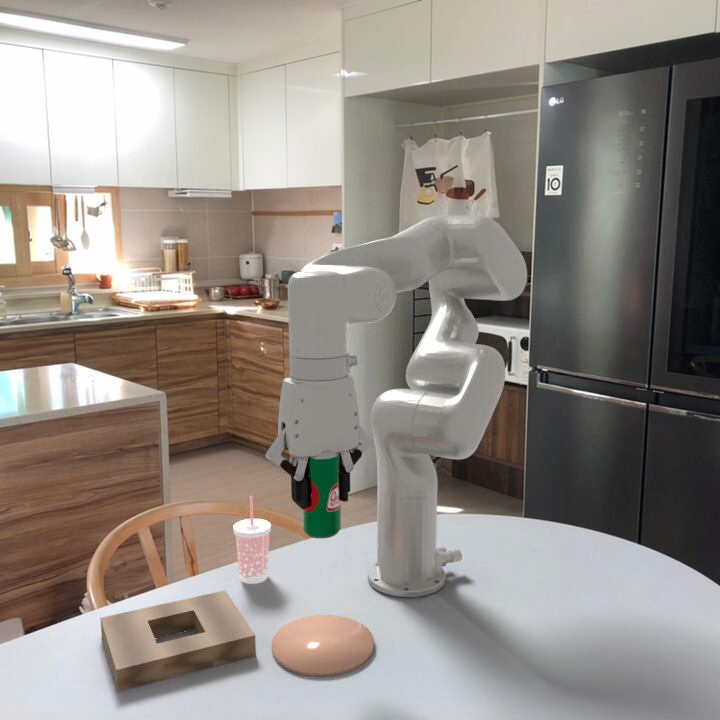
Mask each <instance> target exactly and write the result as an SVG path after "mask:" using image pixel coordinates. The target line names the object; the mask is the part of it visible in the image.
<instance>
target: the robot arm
mask: <svg viewBox="0 0 720 720" xmlns="http://www.w3.org/2000/svg"><path fill="white" fill-rule="evenodd" d="M526 264H527V263H526V261H525V258H524V256H523V254H522V253H521V250H520V249H519V248H518V247H517V245H516V244H515V242H513V240H512V238H511V237H510V236H509V234H508V233H507V232H506V231H505V229H504V228H503V227H502V226H501V225H500V224H499V223H498V222H496V221H495V220H494V219H492V218H491V217H489V216H486V215H473V214H472V215H470V214H469V215H465V214H464V215H450V214H449V215H447V214H446V215H435V216H431V217H428V218H425V219H423V220H421V221H419V222H417V223H416V224H414V225H412V226H410V227H408V228H407V229H404V230H403V231H400V232H398V233H397V234H394V235H392V236H389V237H386V238H382V239H381V238H380V239H376V240H373V241H369V242H367V243H362V244H359V245H353V246H349V247H346V248H342V249H339V250H336V251H332V252H329V253H326V254H325V255H323V256H321V257H319V258H317V259H315V260H312V261H311V262H308V264H306V265H305V266H303V268H301V270H300V271H298V272H294V273H293V274H291V276H290V277H289V279H288V284H287V305H288V306H287V311H288V312H287V313H288V316H287V317H288V340H289V341H288V343H289V344H288V345H289V347H288V348H289V352H288V353H289V377H286V378H284V379H283V381H282V386H281V393H280V400H279V409H278V410H279V411H278V420H277V421H278V424H277V425H278V426H277V437H276V438H275V439H274V441H273V443H271V446H269V448H268V450H267V451H266V452H265V457H266V459H267V460H269V461H270V462H271V463H273V464H275V465H276V466H277V467H279V468H281V469H282V470H283V471H285V473H287V474H288V475H289V476H290V485H291V487H290V493H291V494H290V495H291V499H292V501H293V502H294V503H295V504H296V505H297V506H298V507H299V508H300V509H301V510H303V509H307V508H308V482H307V480H306V479H305V478H304V473H305V469H306V465H307V461H308V458H309V457H314V456H317V455H321V454H322V453H321V452H322V451H327V450H333V451H332V452H333V453H340V497H341V502H343V503H345V502H349V493H350V492H351V472H353V471H354V470H355V467H354V466H355V465H356V464H357V463H358V461H359V460H360V459H361V458H362V457H363V454H365V452H366V451H367V450H368V449H369V448H370V447H372V444H373V441H374V447H375V455H376V465H377V468H376V469H377V473H376V475H377V492H376V493H377V494H376V495H377V497H376V498H377V505H376V507H377V514H376V515H377V516H376V517H377V518H376V519H377V521H376V522H377V525H376V526H377V527H376V528H377V530H376V531H377V532H376V533H377V534H376V535H377V537H376V538H377V540H376V541H377V542H376V544H377V545H376V547H377V548H376V549H377V552H376V554H377V555H376V556H377V557H376V558H377V559H376V560H377V561H376V562H375V563H373V564H372V565H371V566H370V567H369V569H368V570H367V581H368V583H369V585H370V586H371V587H372V588H373V589H375V590H376V591H379V592H380V593H383V594H386V595H388V596H393V597H401V598H417V597H419V598H420V597H424V596H428V595H431V594H434V593H436V592H438V591H439V590H440V589H442V588H443V587H444V585H445V583H446V571H445V570H444V567H446V566H447V564H453V563H457V562H460V561H462V560H463V556H462V555H463V554H462V552H461V550H460V549H459V548H458V549H452V550H447V548H446V547H445V546H440V547H437V527H438V526H437V525H438V524H437V522H438V521H437V520H438V519H437V518H438V515H437V514H438V474H437V470H436V467H435V464H434V462H433V460H432V459H431V456H434V457H437V458H438V457H440V458H443V459H444V458H445V459H450V460H465V459H467V458H470V457H471V456H472V455H473V454H474V453H475V451H476V450H477V449H478V447H479V444H481V443H480V442H481V441H482V439H483V436H484V434H485V432H486V429H487V428H488V426H489V423H490V421H491V418H492V417H493V414H494V412H495V409H496V407H497V404H498V403H499V401H500V398H501V395H502V393H503V390H504V385H505V380H506V364H505V361H504V358H503V356H502V354H501V353H500V352H499V351H498V350H497V349H496V348H494V347H492V346H489V345H486V344H479V343H478V344H477V341H478V338H479V333H480V332H479V331H480V329H479V326H478V323H477V321H476V318H475V317H474V315H473V313H472V312H471V310H470V309H469V308H468V306H467V304H466V302H465V299H467V300H468V299H470V300H487V301H502V302H503V301H512V300H515V299H517V298H518V297H519V296H520V295H521V294H523V292H524V290H525V288H526V285H527V280H528V269H527V265H526ZM426 283H428V285H429V286H428V290H429V296H430V298H429V299H430V305H431V319H430V321H429V323H428V325H427V328H426V330H425V331H424V333H423V335H422V337H421V339H420V341H419V343H418V345H417V346H416V348H415V349H414V352H413V354H412V355H411V357H410V359H409V362H408V364H407V366H406V371H405V380H406V384H407V385H408V387H409V388H393V389H389V390H387V391H384V392H383V393H381V394H380V395H379V396H377V398H376V400H375V401H374V403H373V405H372V407H371V413H370V425H371V426H370V427H371V431H372V435H373V437H372V438H373V440H372V439H371V437H370V436H369V435H368V434H367V433H366V432H365V430H364V429H363V428H362V426H360V414H359V413H360V411H359V404H358V396H357V392H356V386H355V382H354V378H353V376H352V375H350V373H351V372H350V370H351V368H352V367H355V366H357V365H358V358H357V355H350V353H349V328H348V327H349V325H351V324H375V323H377V322H380V321H382V320H384V319H385V318H386V317H387V316H389V314H390V313H391V312H392V310H393V309H394V306H395V303H396V301H397V293H403V292H408V291H413V290H415V289H416V290H417V289H418V288H420V287H422V286H423V285H424V284H426ZM284 451H286V452H287V451H288V453H289V456H290V457H289V458H290V459H289V460H288V459H286V458H285V457H283V456H282V453H283V452H284Z"/></svg>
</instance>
